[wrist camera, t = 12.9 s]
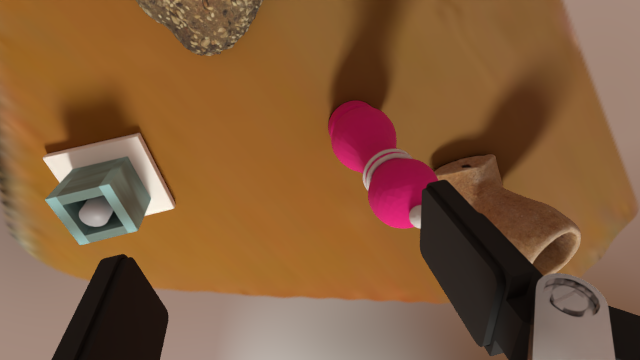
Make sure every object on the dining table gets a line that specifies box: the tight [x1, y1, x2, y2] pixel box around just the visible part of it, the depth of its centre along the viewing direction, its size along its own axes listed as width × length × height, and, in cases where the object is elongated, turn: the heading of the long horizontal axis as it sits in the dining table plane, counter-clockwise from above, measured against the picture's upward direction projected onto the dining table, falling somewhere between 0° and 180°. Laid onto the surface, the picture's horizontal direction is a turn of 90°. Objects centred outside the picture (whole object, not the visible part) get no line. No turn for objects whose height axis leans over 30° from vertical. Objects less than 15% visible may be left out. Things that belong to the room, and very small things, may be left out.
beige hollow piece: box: [434, 154, 581, 276], centre depth 45 cm, size 15×12×15 cm
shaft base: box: [43, 133, 175, 227], centre depth 36 cm, size 10×10×7 cm
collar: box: [45, 156, 151, 245], centre depth 36 cm, size 6×6×6 cm
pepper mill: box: [328, 101, 439, 228], centre depth 33 cm, size 7×7×20 cm
